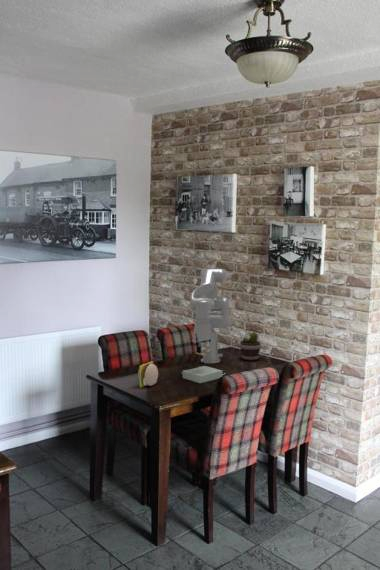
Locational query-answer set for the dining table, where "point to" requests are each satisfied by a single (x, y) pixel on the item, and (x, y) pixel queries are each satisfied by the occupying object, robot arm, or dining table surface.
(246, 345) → the flowerpot
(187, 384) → the dining table surface
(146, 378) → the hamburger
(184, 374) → the dock
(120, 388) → the dining table surface
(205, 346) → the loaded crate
